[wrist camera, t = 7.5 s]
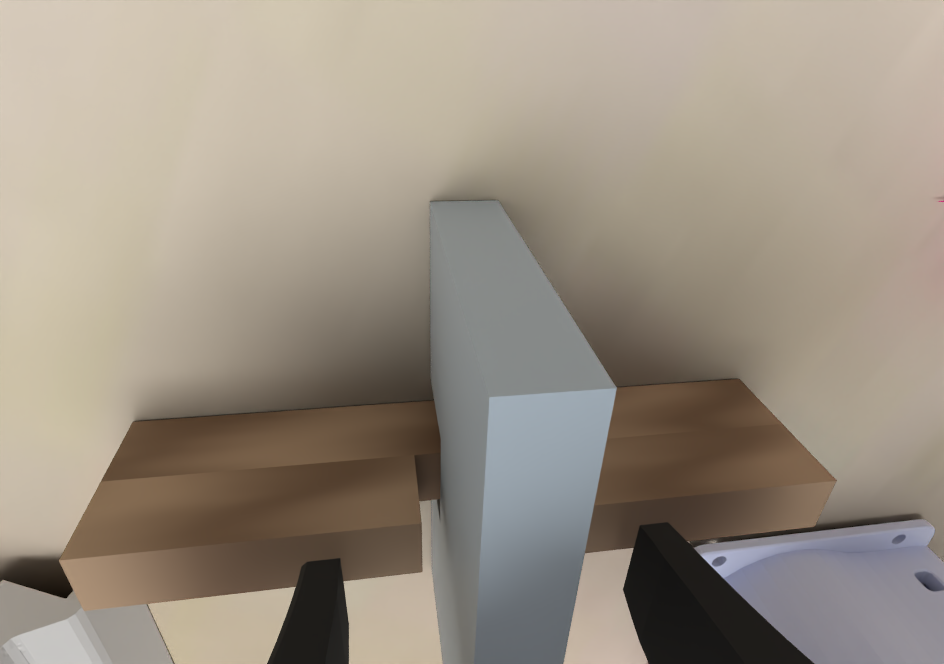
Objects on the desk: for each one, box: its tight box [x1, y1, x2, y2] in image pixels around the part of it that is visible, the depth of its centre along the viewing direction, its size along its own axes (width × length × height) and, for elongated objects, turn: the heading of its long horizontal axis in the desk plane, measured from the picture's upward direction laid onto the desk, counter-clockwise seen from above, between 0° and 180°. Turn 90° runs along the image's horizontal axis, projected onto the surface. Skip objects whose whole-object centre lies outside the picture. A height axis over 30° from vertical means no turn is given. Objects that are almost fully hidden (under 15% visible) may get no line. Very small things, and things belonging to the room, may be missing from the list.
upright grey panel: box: [430, 200, 617, 664], centre depth 13 cm, size 2×12×7 cm, turn 178°
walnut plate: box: [59, 379, 837, 611], centre depth 14 cm, size 16×2×4 cm, turn 88°
